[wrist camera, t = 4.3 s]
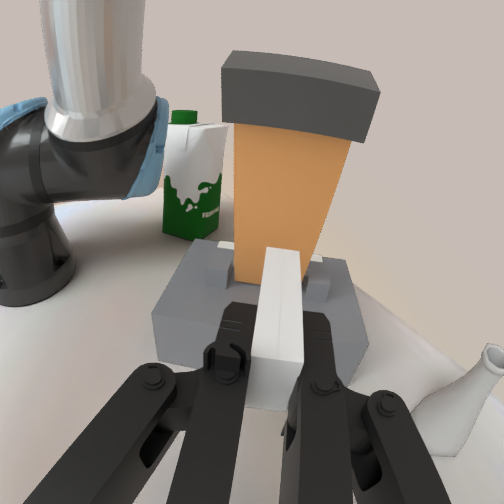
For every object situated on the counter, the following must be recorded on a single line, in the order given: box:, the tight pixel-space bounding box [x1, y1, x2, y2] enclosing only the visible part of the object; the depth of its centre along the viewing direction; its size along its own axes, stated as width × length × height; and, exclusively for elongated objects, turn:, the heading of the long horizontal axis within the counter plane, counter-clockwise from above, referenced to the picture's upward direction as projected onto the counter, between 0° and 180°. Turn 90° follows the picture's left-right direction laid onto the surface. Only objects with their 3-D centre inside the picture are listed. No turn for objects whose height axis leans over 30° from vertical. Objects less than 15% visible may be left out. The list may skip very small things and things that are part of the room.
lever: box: [221, 51, 380, 285], centre depth 20 cm, size 3×7×20 cm, turn 84°
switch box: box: [152, 239, 369, 387], centre depth 30 cm, size 14×18×8 cm
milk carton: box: [162, 110, 228, 241], centre depth 47 cm, size 9×9×20 cm
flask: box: [411, 343, 504, 457], centre depth 18 cm, size 7×7×10 cm
